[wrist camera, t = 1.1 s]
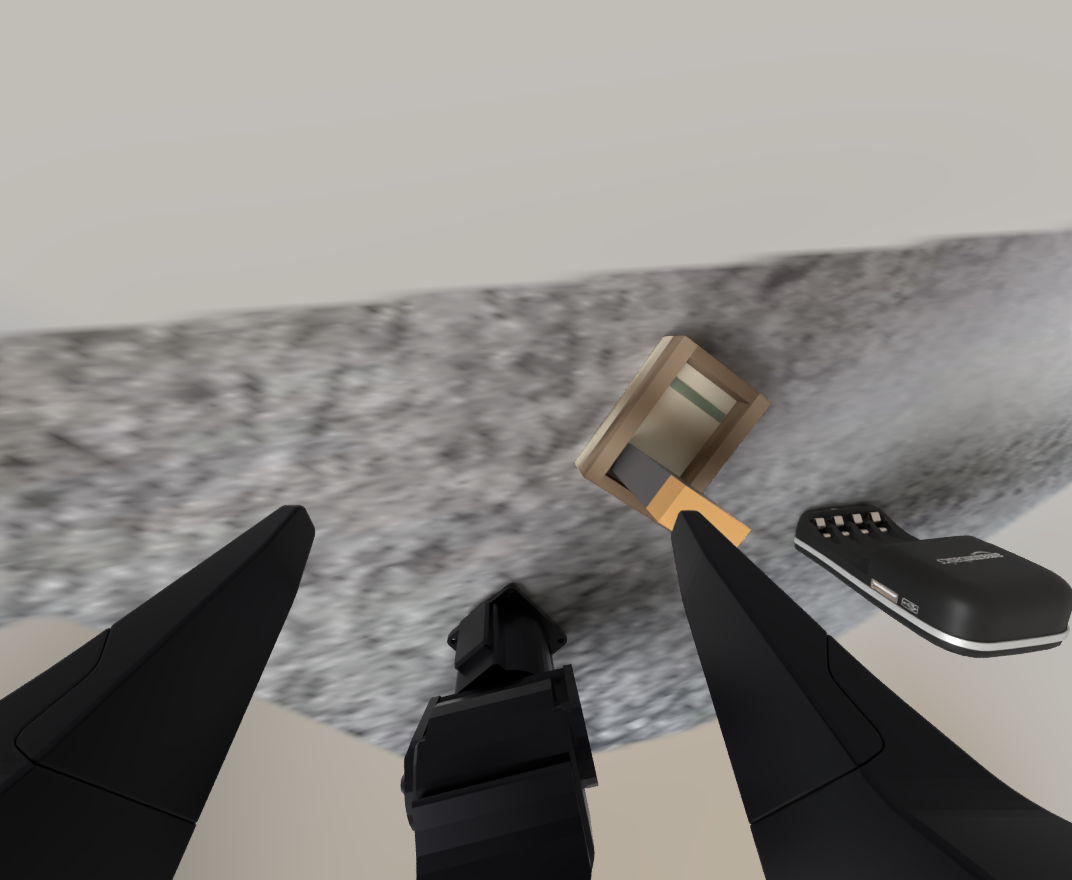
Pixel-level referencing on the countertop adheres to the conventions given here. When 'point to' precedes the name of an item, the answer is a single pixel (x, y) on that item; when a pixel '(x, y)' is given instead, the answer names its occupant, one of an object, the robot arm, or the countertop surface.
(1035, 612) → the battery charger
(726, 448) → the tray
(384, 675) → the countertop surface
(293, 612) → the countertop surface
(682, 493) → the fader lever
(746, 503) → the countertop surface
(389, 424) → the countertop surface
